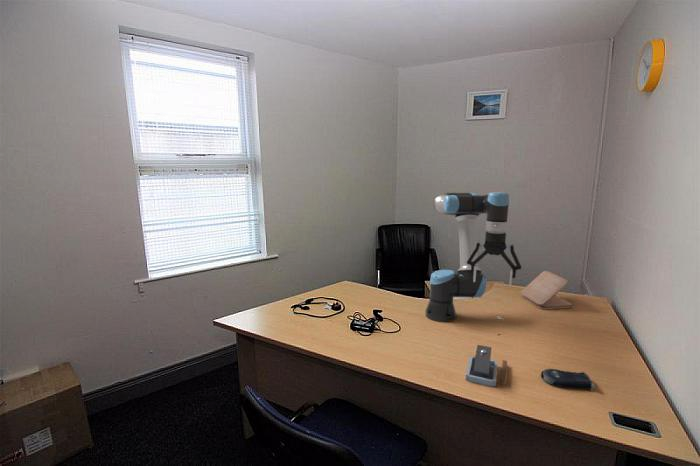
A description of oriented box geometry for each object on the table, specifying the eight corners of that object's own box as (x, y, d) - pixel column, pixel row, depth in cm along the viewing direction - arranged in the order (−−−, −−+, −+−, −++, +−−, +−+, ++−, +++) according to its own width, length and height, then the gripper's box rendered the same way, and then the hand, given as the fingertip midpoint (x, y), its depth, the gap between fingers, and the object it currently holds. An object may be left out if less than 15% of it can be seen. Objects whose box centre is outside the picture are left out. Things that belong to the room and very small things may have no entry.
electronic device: (580, 380, 132) (537, 370, 135) (585, 367, 131) (541, 358, 133) (590, 398, 124) (544, 388, 126) (596, 386, 122) (549, 375, 124)
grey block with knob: (476, 363, 139) (477, 343, 138) (490, 366, 137) (491, 345, 136) (473, 377, 131) (475, 355, 129) (488, 380, 129) (490, 358, 127)
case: (518, 296, 212) (520, 270, 209) (551, 295, 214) (554, 269, 211) (540, 310, 192) (543, 282, 189) (576, 309, 194) (580, 280, 191)
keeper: (465, 380, 129) (465, 375, 129) (470, 360, 143) (470, 355, 142) (495, 387, 125) (495, 382, 125) (497, 365, 139) (497, 361, 138)
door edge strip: (501, 384, 127) (501, 379, 126) (502, 364, 139) (502, 360, 139) (505, 385, 126) (506, 380, 126) (506, 365, 139) (507, 360, 138)
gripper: (461, 230, 144) (458, 281, 148) (531, 235, 134) (526, 290, 138) (464, 227, 151) (461, 276, 155) (530, 232, 141) (525, 284, 145)
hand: (492, 283), depth 146 cm, fingers open, 13 cm apart
